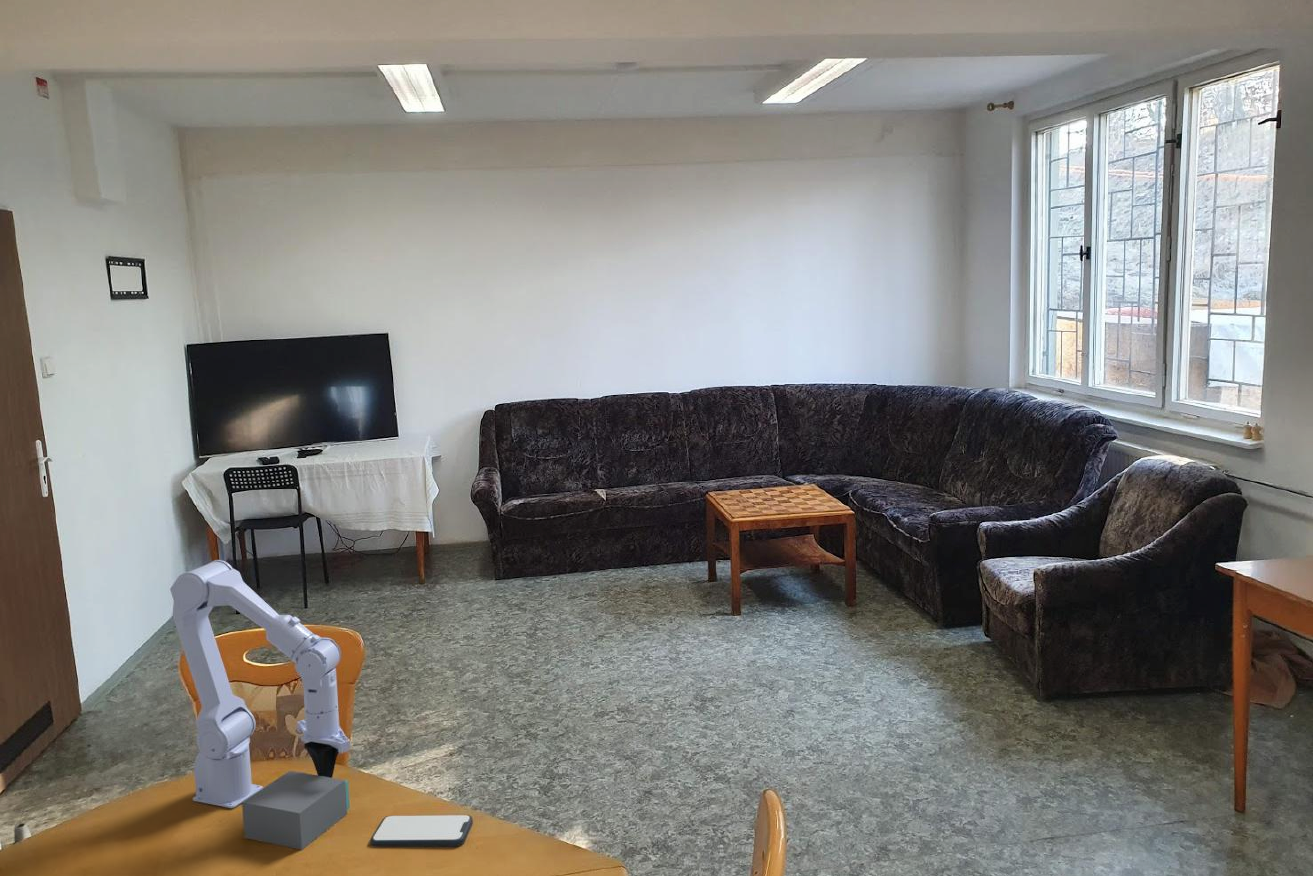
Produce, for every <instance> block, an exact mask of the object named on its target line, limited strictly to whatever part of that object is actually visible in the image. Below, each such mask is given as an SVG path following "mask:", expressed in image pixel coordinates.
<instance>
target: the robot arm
mask: <svg viewBox="0 0 1313 876" xmlns="http://www.w3.org/2000/svg"><path fill="white" fill-rule="evenodd" d="M169 590H170V593H171V596H172V599H173V606H172V618H173V622H174V625H175V629H176V631H177V634H178V637H179V640H180V644H181V646H182V650H183V653H184V655H185V659H186V662H187V665H188V669H189V671H190V674H191V677H192V680H193V683H194V686H195V690H196V692H197V697H198V699H199V703H200V704H201V705H200V706H201V708H200V710H199V713H198V715H197V718H196V719H195V727H196V730H197V731H196V732H197V734H196V745H197V747H198V750H199V753H198V754H197V756H196V757H195V760H194V764H193V774H194V786H195V796H193V797H192V801H193V802H197V803H198V802H199V803H203V804H206V805H207V804H208V805H213V806H218V807H221V808H222V807H223V808H228V809H234V808H236V807H237V806H239V805H240V804H242V802H243V801H244V800H246V799H248V798H249V797H251V796H252V795H254V794H255V793H257V792H258V791H260V790H261V789H263V788H264V787H263V786H262V785H259V784H254V783H253V782H252V781H253V780H252V769H251V755H250V743H251V738H250V737H251V736H252V735H253V734H254V733H255V730H256V726H257V724H256V718H255V716H254V715H253V713H252V712H251V710H249V708H248V707H247V705H246V703H245V702H246V701H245V699H243V698H242V697H239V696H237V695H235V694H234V693H233V690H232V687H231V683H230V681H229V678H228V675H227V671H226V668H225V665H224V661H223V659H222V656H221V653H220V650H219V645H218V643H217V640H216V637H215V634H214V631H213V629H212V625H211V622H210V619H209V614H210V613H211V611H212V610H213V608H214V607H223V606H230V607H231V608H233V609H235V610H236V611H237V612H238V613H240V614H241V615H243V616H245V618H247V619H248V620H251V621H252V622H253V623H254V624H256V625H258V626H259V627H261V628H262V629H263V630H265V636H266V637H265V638H266V640H267V642H269V643H270V644H271V645H272V646H274V647H275V648H276V649H277V650H279V651H280V652H281V653H283V654H284V655H285V656H286V657H288V658H289V659H290V661H292V662H294V668H295V670H296V673H297V675H298V676H299V677H300V679H301V684H302V687H303V702H304V703H303V705H304V718H305V719H302V720H299V721H297V722H296V727H297V728H296V729H297V733H300V734H303V735H301V736H300V741H301V742H302V743H304V746H303V747H304V749H305V750H306V752H307V753H308V755H309V756H310V758H311V761H312V763H313V765H314V768H315V772H316V775H318V776H324V777H330V778H333V775H334V771H335V765H336V761H337V759H338V756H339V754H344V753H346V752H348V751H351V749H352V747H351V746H352V745H351V739H349V738H348V737H347V736H346V734H345V733H344V731H343V729H342V728H341V726H340V717H339V716H340V715H339V701H338V700H339V699H338V697H339V696H338V681H337V668H336V666H338V664H339V663H340V661H341V658H342V652H341V648H340V647H339V645H338V644H337V643H336V642H335V640H334V639H332V638H330V637H321V636H320V635H318V634H314V633H313V632H312V631H311V630H310V629H308V628H307V627H306V626H305V625H303V624H302V623H301V620H300V619H299V618H298V617H297V616H292V615H291V614H279V613H278V612H277V611H276V610H274V608H273V607H272V606H270V604H268V603H267V602H265V600H264V599H263V598H262V597H260V595H258V594H257V592H255V591H254V590H253V589H252V588H251V587H250V586H249V585H247V584H246V583H245V581H244V580H243V577H242V575H241V573H240V571H239V570H237V569H235V568H233V567H232V565H231V564H230V563H228V562H227V561H225V560H223V559H215V560H212V561H210V562H208V563H207V564H204V565H201V566H200V567H197V568H195V569H192V570H190V571H185V572H183V573H181V574H180V575H178V576H177V578H176V580H175V581H174V582H173V584H172V585H171V587H170V588H169Z"/></svg>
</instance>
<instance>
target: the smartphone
mask: <svg viewBox="0 0 1313 876" xmlns="http://www.w3.org/2000/svg"><path fill="white" fill-rule="evenodd" d="M472 826H473V817H472V815H469V814H439V815H437V814H434V815H431V814H428V815H427V814H424V815H423V814H419V815H410V814H409V815H388V816H385V817H383V818H382V819H381V822H380V823H379V824H378V826H377V828H376V829H375V831H374V833H373V834H372V836H371V838H370V845H371V846H372V847H375V848H376V847H377V848H380V847H381V848H388V847H389V848H459V847H462V846H463V845H464V844H465V842H466V840H467V837H468V836H469V833H470V831H471V829H472Z"/></svg>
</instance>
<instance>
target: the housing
mask: <svg viewBox="0 0 1313 876" xmlns="http://www.w3.org/2000/svg"><path fill="white" fill-rule="evenodd" d="M345 780H346V779H341V778H334V777H332V778H329V777H324V776H318V774H312V773H306V772H300V771H294V770H289V771H287V772H286V773H284V774H283V775H281V776H279V777H277V779H274V780H273V781H272V782H271V783H269V784H267V785H266V786H264V787H263V789H261V790H260V791H258V792H257V793H255V794H254V795H252V796H251V797H249V798H248V799H246V800H244V801H243V802H242V803H241V808H242V823H243V835H244V839H249V840H254V841H259V842H263V843H268V844H272V845H278V846H283V847H287V848H288V847H289V848H293V849H298V850H301V851H303V849H304V848H306V847H308V846H309V845H310V844H311V843H313V842H314V841H315V840H316V839H318V838H319V837H320V836H321V835H323V834H324V833H326V832H327V831H328V830H329V829H330V828H332V827H333V826H334V825H335V824H337V823H338V822H339V821H341V820H342V819H343V818H344V817H345V816H347V815H348V810H347V805H346V788H345Z"/></svg>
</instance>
